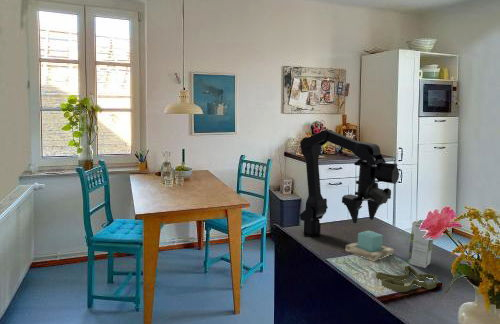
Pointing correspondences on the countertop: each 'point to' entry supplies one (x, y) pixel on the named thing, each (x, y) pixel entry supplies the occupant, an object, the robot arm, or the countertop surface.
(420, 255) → the syrup box
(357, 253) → the socket base
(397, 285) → the cookie cutter
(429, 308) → the countertop surface
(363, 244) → the turquoise block
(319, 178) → the robot arm
